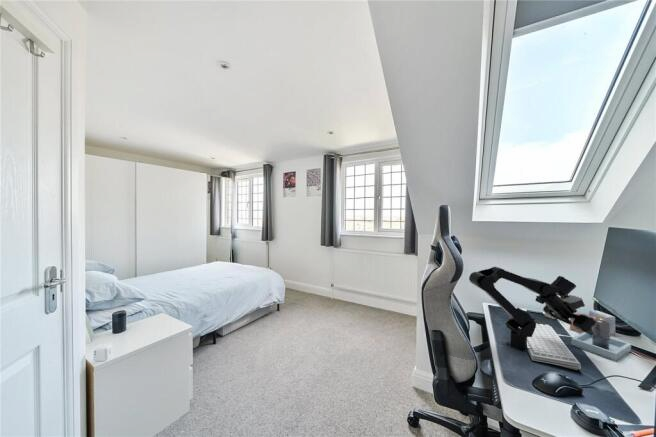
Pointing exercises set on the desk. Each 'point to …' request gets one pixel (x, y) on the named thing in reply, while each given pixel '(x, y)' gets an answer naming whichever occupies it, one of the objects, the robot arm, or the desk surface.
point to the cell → (601, 333)
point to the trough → (615, 348)
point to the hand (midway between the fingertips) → (581, 329)
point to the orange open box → (575, 327)
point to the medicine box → (607, 317)
